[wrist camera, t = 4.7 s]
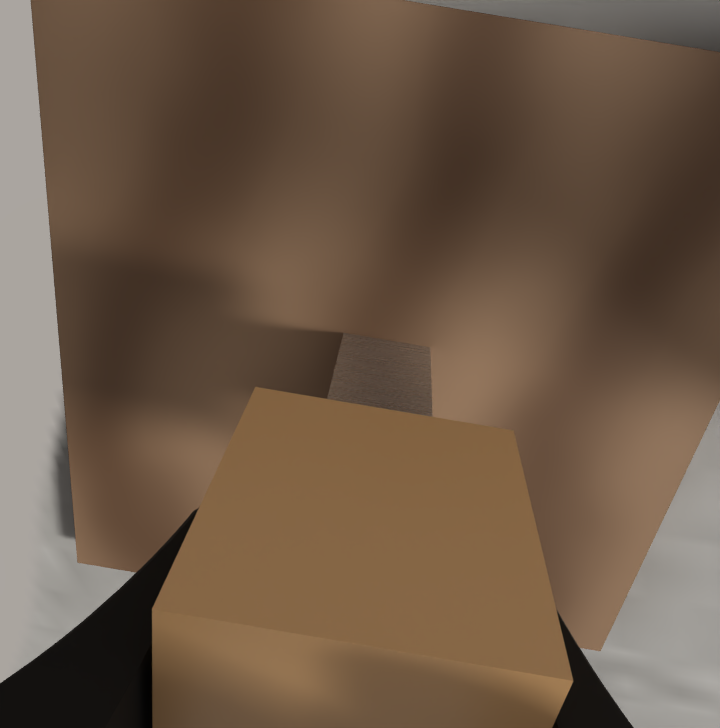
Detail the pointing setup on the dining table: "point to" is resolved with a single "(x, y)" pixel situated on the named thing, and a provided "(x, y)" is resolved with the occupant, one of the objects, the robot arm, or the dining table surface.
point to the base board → (382, 250)
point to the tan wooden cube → (359, 580)
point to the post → (383, 375)
